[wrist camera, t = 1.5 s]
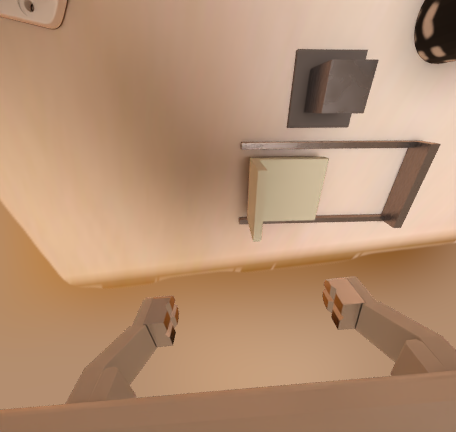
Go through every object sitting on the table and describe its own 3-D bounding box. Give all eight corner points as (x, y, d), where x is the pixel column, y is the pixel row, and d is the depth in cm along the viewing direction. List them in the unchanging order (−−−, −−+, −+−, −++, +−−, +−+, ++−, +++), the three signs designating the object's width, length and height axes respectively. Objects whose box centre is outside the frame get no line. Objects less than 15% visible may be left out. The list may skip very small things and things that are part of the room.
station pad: (286, 127, 26) (287, 127, 26) (296, 50, 23) (298, 49, 22) (346, 126, 27) (347, 127, 26) (365, 50, 23) (367, 49, 23)
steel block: (303, 112, 25) (321, 113, 21) (310, 68, 23) (332, 59, 19) (338, 112, 26) (363, 113, 21) (348, 68, 23) (378, 59, 19)
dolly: (245, 212, 32) (253, 241, 25) (248, 155, 28) (258, 170, 21) (307, 211, 32) (331, 239, 26) (319, 154, 28) (351, 169, 21)
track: (239, 221, 33) (240, 231, 30) (241, 142, 27) (243, 145, 24) (386, 218, 34) (400, 227, 31) (419, 140, 28) (440, 143, 25)
